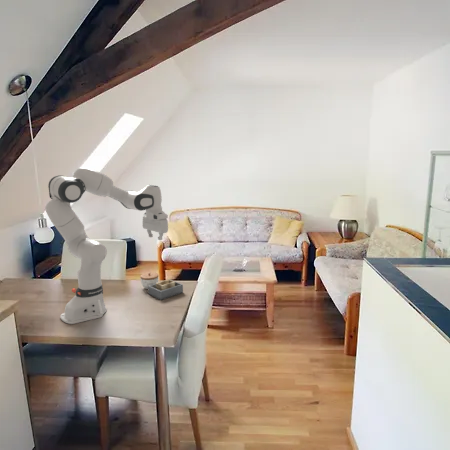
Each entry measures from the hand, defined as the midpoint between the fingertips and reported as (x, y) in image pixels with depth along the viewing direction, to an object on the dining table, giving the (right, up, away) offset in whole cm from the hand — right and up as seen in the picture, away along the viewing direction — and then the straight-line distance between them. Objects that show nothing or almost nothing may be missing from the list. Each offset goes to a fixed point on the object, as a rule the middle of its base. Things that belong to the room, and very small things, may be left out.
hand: (155, 238), depth 223 cm
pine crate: (+5, -31, +8) cm, 33 cm away
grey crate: (+5, -32, +8) cm, 33 cm away
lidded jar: (-6, -30, +18) cm, 36 cm away
